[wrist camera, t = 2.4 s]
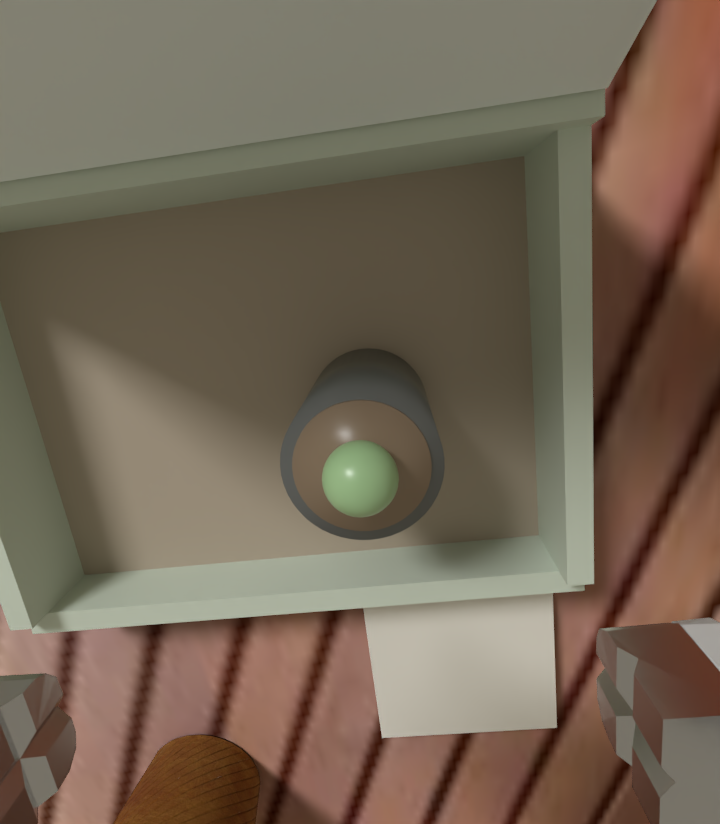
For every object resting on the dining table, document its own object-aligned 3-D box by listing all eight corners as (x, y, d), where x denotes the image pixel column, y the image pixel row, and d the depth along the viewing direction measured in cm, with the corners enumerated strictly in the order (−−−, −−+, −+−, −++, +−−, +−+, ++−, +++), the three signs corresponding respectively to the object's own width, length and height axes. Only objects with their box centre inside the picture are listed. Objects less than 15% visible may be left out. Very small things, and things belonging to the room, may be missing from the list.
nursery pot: (421, 341, 21) (445, 393, 13) (431, 453, 23) (459, 569, 14) (303, 355, 22) (249, 415, 13) (320, 465, 23) (282, 583, 15)
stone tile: (547, 565, 25) (552, 574, 24) (552, 714, 27) (556, 727, 26) (361, 580, 25) (360, 590, 25) (382, 724, 28) (382, 737, 27)
